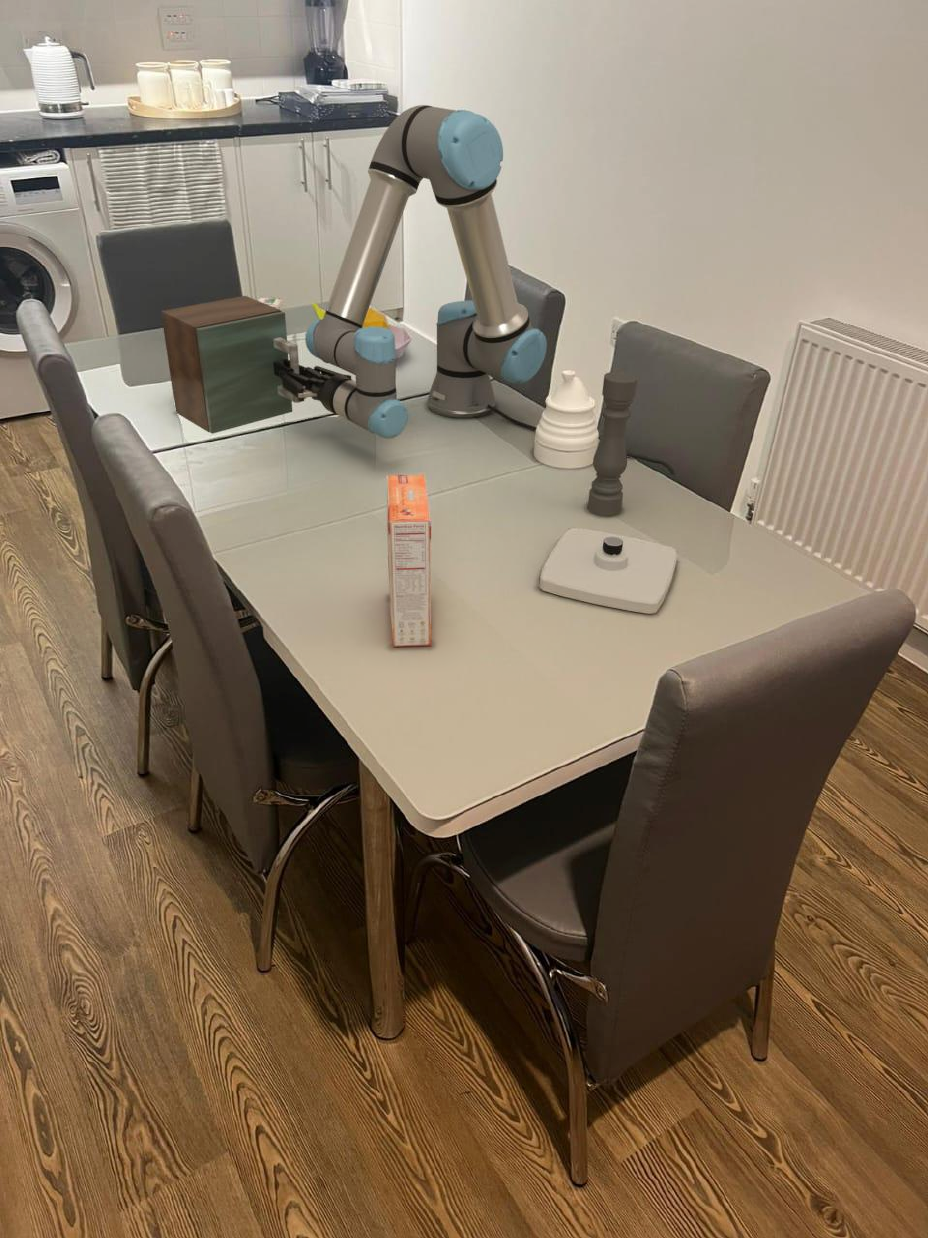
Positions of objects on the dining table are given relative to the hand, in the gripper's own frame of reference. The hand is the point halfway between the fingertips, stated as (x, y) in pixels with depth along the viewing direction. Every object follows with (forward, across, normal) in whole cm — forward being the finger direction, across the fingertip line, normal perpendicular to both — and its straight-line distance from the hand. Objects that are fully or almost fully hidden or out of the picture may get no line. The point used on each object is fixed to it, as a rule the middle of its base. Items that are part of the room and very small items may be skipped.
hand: (280, 366), depth 199 cm
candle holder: (-74, +21, -11) cm, 78 cm away
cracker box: (-79, -30, -11) cm, 86 cm away
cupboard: (+9, -8, -11) cm, 16 cm away
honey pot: (-53, +33, -11) cm, 63 cm away
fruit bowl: (+21, +36, -11) cm, 43 cm away
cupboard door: (-2, -7, -11) cm, 13 cm away
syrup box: (+33, +19, -11) cm, 40 cm away
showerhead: (-90, +3, -11) cm, 91 cm away
